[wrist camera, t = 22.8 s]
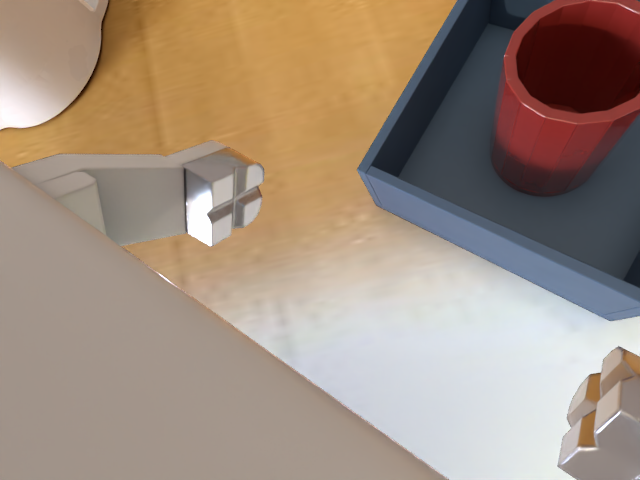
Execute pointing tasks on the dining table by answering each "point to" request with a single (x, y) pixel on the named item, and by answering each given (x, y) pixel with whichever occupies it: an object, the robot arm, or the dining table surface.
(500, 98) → the canister
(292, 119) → the dining table surface
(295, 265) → the dining table surface
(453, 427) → the dining table surface
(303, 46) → the dining table surface
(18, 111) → the robot arm
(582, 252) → the tote
